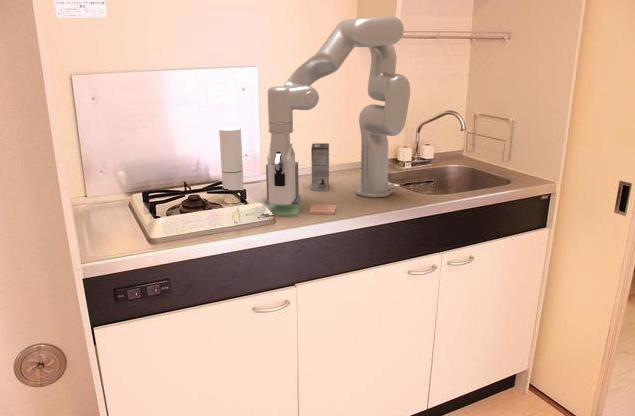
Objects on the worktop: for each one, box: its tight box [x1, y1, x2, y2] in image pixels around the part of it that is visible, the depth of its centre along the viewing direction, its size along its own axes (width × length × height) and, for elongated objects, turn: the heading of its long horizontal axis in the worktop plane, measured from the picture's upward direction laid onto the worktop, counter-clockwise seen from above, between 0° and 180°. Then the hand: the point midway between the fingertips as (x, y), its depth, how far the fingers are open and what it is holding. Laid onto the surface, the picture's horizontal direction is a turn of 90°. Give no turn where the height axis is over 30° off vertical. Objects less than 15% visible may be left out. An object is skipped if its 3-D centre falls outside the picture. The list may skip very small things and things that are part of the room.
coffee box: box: [311, 142, 330, 192], centre depth 199 cm, size 9×6×16 cm
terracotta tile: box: [308, 203, 337, 216], centre depth 174 cm, size 8×8×1 cm
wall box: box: [265, 161, 302, 205], centre depth 183 cm, size 11×8×13 cm
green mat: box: [266, 203, 303, 218], centre depth 174 cm, size 11×10×1 cm
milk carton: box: [267, 142, 296, 205], centre depth 170 cm, size 7×7×19 cm
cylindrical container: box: [218, 126, 245, 198], centre depth 182 cm, size 7×7×25 cm
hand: (282, 182), depth 171 cm, fingers closed on milk carton, 7 cm apart
